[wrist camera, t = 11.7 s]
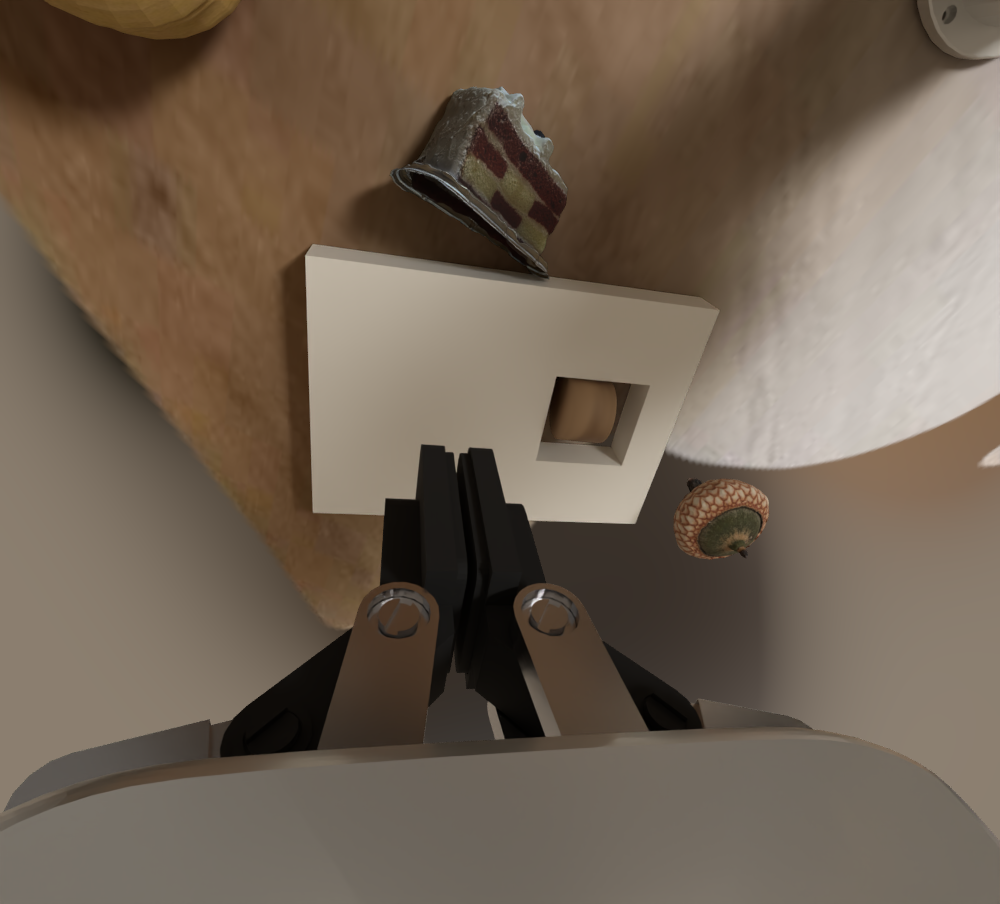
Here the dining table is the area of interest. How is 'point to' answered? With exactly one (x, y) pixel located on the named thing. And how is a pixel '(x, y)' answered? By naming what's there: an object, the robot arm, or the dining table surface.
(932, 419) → the dining table surface
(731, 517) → the acorn
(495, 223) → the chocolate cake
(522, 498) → the plate
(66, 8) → the pot
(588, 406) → the brown wooden cylinder
